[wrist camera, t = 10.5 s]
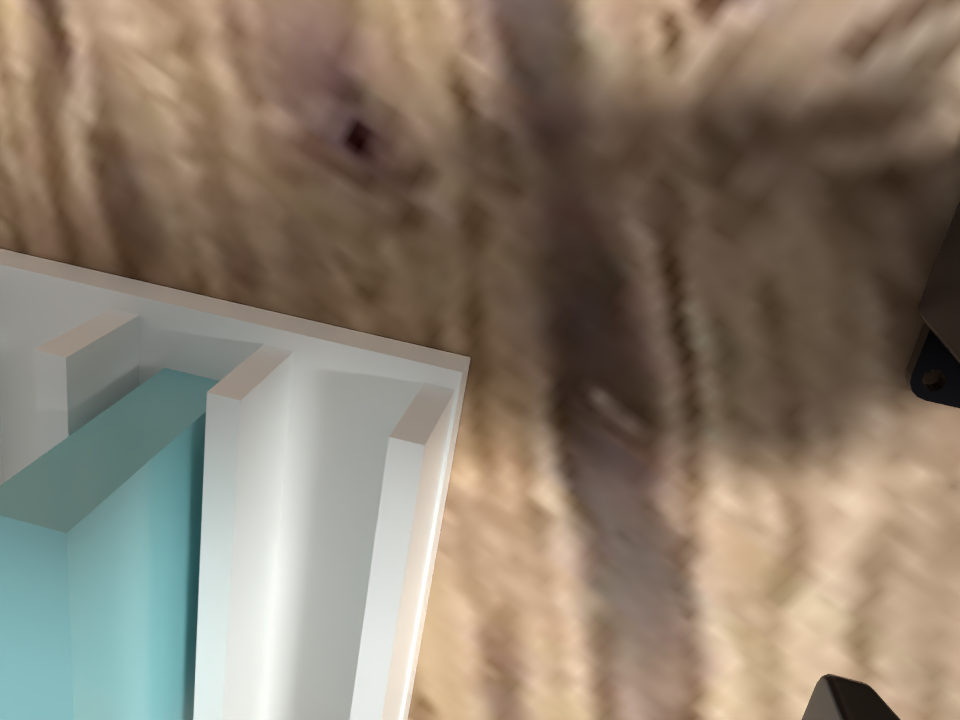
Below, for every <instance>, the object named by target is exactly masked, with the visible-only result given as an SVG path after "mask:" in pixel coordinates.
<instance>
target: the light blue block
mask: <svg viewBox="0 0 960 720" xmlns="http://www.w3.org/2000/svg"><path fill="white" fill-rule="evenodd" d="M218 382H220V381H218V380H214V379H210V378H206V377H201V376H197V375H193V374H189V373H185V372H180V371H176V370H172V369H168V368H163V369H162V370H161V371H159V372H158V373H156V374H155V375H154V376H152V377H151V378H149V379H148V380H147V381H145V382H144V383H143V384H141V385H140V386H138V387H137V388H136V389H134V390H133V391H131V392H130V393H129V394H127V395H126V396H124V397H123V398H122V399H120V400H119V401H117V402H116V403H115V404H113V405H112V406H110V407H109V408H108V409H106V410H105V411H103V412H102V413H101V414H99V415H98V416H96V417H95V418H94V419H92V420H91V421H89V422H88V423H87V424H85V425H84V426H82V427H81V428H80V429H78V430H77V431H75V432H74V433H73V434H71V435H70V436H68V437H67V438H66V439H64V440H63V441H61V442H60V443H59V444H57V445H56V446H54V447H53V448H52V449H50V450H49V451H47V452H46V453H45V454H43V455H42V456H40V457H39V458H38V459H36V460H35V461H34V462H32V463H31V464H29V465H28V466H27V467H25V468H24V469H22V470H21V471H20V472H18V473H17V474H15V475H14V476H13V477H11V478H10V479H8V480H7V481H6V482H4V483H3V484H1V485H0V720H193V717H194V692H195V668H196V643H197V619H198V595H199V570H200V546H201V522H202V497H203V473H204V448H205V424H206V400H207V392H208V391H209V390H210V389H211V388H212V387H214V386H215V385H216V384H217V383H218Z"/></svg>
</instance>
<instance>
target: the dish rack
mask: <svg viewBox="0 0 960 720" xmlns="http://www.w3.org/2000/svg"><path fill="white" fill-rule="evenodd" d="M470 359H471V357H467V356H463V355H458V354H454V353H450V352H445V351H441V350H437V349H433V348H428V347H424V346H420V345H415V344H411V343H407V342H402V341H398V340H394V339H389V338H385V337H381V336H376V335H372V334H368V333H363V332H359V331H355V330H350V329H346V328H342V327H337V326H333V325H329V324H324V323H320V322H316V321H312V320H307V319H303V318H299V317H294V316H290V315H286V314H281V313H277V312H273V311H268V310H264V309H260V308H255V307H251V306H247V305H242V304H238V303H234V302H229V301H225V300H221V299H216V298H212V297H208V296H203V295H199V294H195V293H191V292H186V291H182V290H178V289H173V288H169V287H165V286H160V285H156V284H152V283H147V282H143V281H139V280H134V279H130V278H126V277H121V276H117V275H113V274H108V273H104V272H100V271H95V270H91V269H87V268H82V267H78V266H74V265H70V264H65V263H61V262H57V261H52V260H48V259H44V258H39V257H35V256H31V255H26V254H22V253H18V252H13V251H9V250H5V249H0V485H1V484H3V483H4V482H6V481H7V480H8V479H10V478H11V477H13V476H14V475H15V474H17V473H18V472H20V471H21V470H22V469H24V468H25V467H27V466H28V465H29V464H31V463H32V462H34V461H35V460H36V459H38V458H39V457H40V456H42V455H43V454H45V453H46V452H47V451H49V450H50V449H52V448H53V447H54V446H56V445H57V444H59V443H60V442H61V441H63V440H64V439H66V438H67V437H68V436H70V435H71V434H73V433H74V432H75V431H77V430H78V429H80V428H81V427H82V426H84V425H85V424H87V423H88V422H89V421H91V420H92V419H94V418H95V417H96V416H98V415H99V414H101V413H102V412H103V411H105V410H106V409H108V408H109V407H110V406H112V405H113V404H115V403H116V402H117V401H119V400H120V399H122V398H123V397H124V396H126V395H127V394H129V393H130V392H131V391H133V390H134V389H136V388H137V387H138V386H140V385H141V384H143V383H144V382H145V381H147V380H148V379H149V378H151V377H152V376H154V375H155V374H156V373H158V372H159V371H161V370H162V369H163V368H168V369H172V370H176V371H180V372H185V373H189V374H193V375H197V376H201V377H206V378H210V379H214V380H218V381H220V382H218V383H217V384H216V385H215V386H214V387H212V388H211V389H210V390H209V391H208V392H207V400H206V424H205V448H204V473H203V497H202V522H201V546H200V570H199V595H198V619H197V643H196V668H195V692H194V717H193V720H408V714H409V708H410V702H411V697H412V691H413V685H414V679H415V674H416V668H417V662H418V657H419V651H420V645H421V639H422V634H423V628H424V622H425V616H426V611H427V605H428V599H429V594H430V588H431V582H432V576H433V571H434V565H435V559H436V553H437V548H438V542H439V536H440V531H441V525H442V519H443V513H444V508H445V502H446V496H447V490H448V485H449V479H450V473H451V467H452V462H453V456H454V450H455V445H456V439H457V433H458V427H459V422H460V416H461V410H462V404H463V399H464V393H465V387H466V382H467V376H468V370H469V364H470Z"/></svg>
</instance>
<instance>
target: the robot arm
mask: <svg viewBox="0 0 960 720" xmlns="http://www.w3.org/2000/svg"><path fill="white" fill-rule="evenodd" d="M918 311H919V313H920V315H921V317H922V318H923V320H924V322H925V324H924V327H923V329H922V332H921V334H920V337H919V339H918V342H917V344H916V347H915V349H914V352H913V354H912V357H911V359H910V362H909V364H908V367H907V370H906V376H905V377H906V381H907V384H908V386H909V387H910V389H911V390H912V391H913V393H914V394H915V395H916V396H917V397H919V398H921V399H923V400H926V401H930V402H935V403H939V404H944V405H948V406H953V407H957V408H960V203H959V205H958V207H957V209H956V212H955V214H954V217H953V220H952V222H951V225H950V227H949V230H948V232H947V235H946V237H945V240H944V242H943V245H942V248H941V250H940V253H939V255H938V258H937V260H936V263H935V265H934V268H933V271H932V273H931V276H930V278H929V281H928V283H927V286H926V288H925V291H924V293H923V296H922V299H921V301H920V304H919V307H918ZM932 370H939V371H941V377H940V378H939V380H938V381H937V382H935V383H932V384H924V383H922V378H923V376H924V375H925V374H926V373H927V372H930V371H932ZM802 720H900V719H899V717H898V716H897V715H896V714H895V713H894V712H893V711H892V710H891V709H890V707H889V706H888V705H887V704H886V703H885V702H884V701H883V700H882V698H881V697H880V696H879V695H878V694H877V693H876V692H875V691H874V690H873V689H872V688H871V687H870V686H869V685H867V684H865V683H863V682H860V681H856V680H852V679H848V678H844V677H840V676H836V675H832V674H827V675H824V676H822V677H821V678H820V680H819V681H818V682H817V684H816V686H815V688H814V691H813V693H812V696H811V698H810V701H809V703H808V706H807V708H806V711H805V713H804V715H803V718H802Z"/></svg>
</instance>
